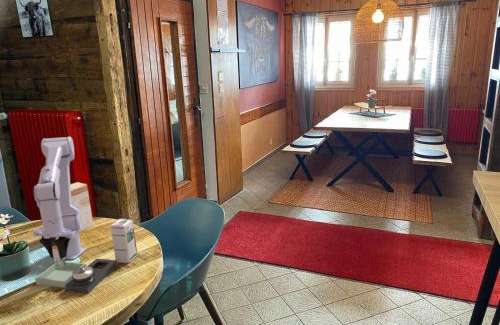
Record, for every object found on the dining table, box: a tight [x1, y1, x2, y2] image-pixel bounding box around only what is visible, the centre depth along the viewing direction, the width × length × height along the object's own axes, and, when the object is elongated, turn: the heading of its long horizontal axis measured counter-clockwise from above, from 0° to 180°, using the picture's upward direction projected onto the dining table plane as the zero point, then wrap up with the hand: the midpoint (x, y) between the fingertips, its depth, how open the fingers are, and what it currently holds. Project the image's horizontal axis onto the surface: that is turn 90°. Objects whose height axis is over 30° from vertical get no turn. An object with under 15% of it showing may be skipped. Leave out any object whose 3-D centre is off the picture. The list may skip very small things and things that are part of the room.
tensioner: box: [64, 258, 118, 294], centre depth 127 cm, size 8×17×6 cm, turn 168°
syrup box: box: [109, 218, 138, 264], centre depth 138 cm, size 6×6×14 cm
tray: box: [34, 261, 87, 289], centre depth 128 cm, size 11×11×2 cm
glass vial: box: [51, 243, 66, 268], centre depth 127 cm, size 3×3×8 cm
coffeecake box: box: [61, 181, 94, 233], centre depth 161 cm, size 15×7×20 cm, turn 150°
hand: (58, 256), depth 127 cm, fingers closed on glass vial, 3 cm apart
